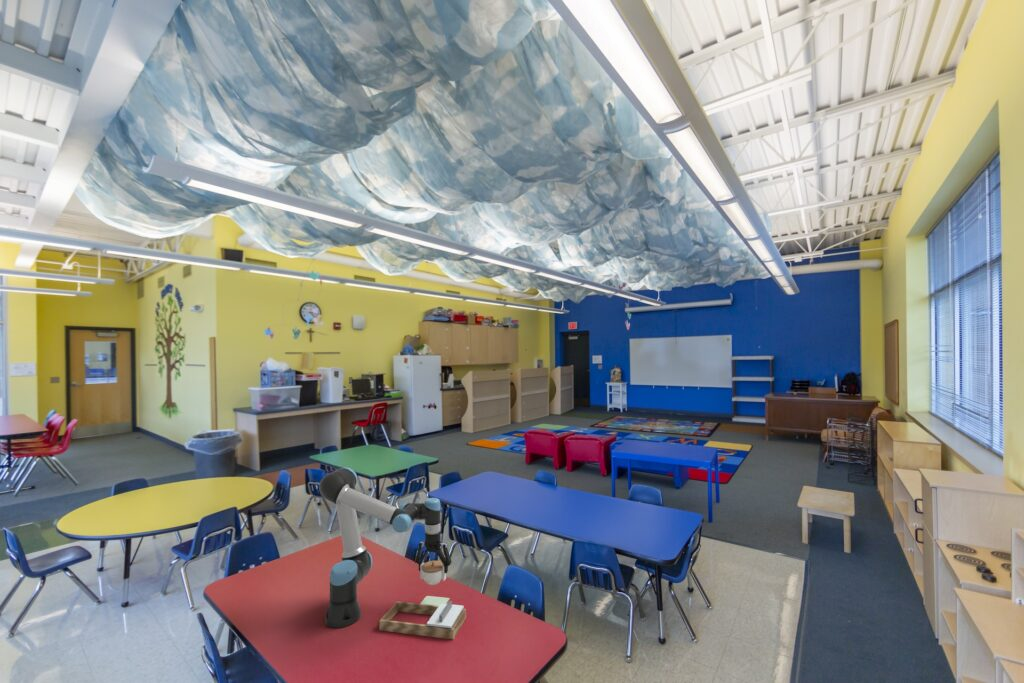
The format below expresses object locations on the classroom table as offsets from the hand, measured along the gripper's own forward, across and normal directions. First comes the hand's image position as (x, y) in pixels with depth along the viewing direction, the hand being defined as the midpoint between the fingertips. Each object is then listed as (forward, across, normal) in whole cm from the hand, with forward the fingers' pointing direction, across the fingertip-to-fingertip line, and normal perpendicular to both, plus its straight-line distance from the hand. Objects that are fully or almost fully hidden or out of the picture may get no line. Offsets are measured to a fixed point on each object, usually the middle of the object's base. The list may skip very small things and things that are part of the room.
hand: (433, 578), depth 209 cm
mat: (+12, 0, 0) cm, 12 cm away
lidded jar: (+2, 0, 0) cm, 2 cm away
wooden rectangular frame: (+12, +2, -16) cm, 20 cm away
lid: (+8, +12, -15) cm, 21 cm away
